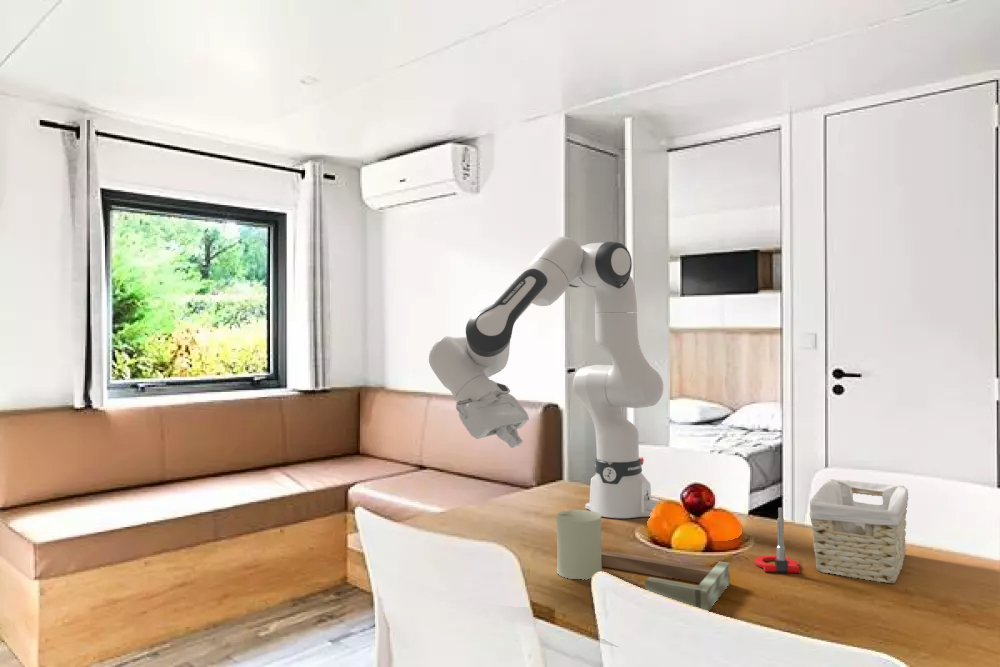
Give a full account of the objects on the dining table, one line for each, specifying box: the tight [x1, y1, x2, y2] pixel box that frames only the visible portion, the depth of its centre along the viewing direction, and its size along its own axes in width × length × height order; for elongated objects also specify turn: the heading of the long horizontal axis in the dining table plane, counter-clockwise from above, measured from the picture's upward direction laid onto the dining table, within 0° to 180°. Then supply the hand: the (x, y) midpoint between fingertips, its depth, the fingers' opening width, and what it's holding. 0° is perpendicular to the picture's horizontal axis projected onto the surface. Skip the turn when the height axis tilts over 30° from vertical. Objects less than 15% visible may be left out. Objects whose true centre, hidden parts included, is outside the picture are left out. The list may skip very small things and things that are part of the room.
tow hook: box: [754, 507, 800, 574], centre depth 147 cm, size 8×13×9 cm
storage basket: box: [809, 478, 909, 584], centre depth 148 cm, size 24×16×15 cm
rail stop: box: [601, 549, 731, 612], centre depth 138 cm, size 16×30×4 cm, turn 59°
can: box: [555, 509, 603, 581], centre depth 145 cm, size 9×9×12 cm
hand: (517, 445), depth 154 cm, fingers closed
